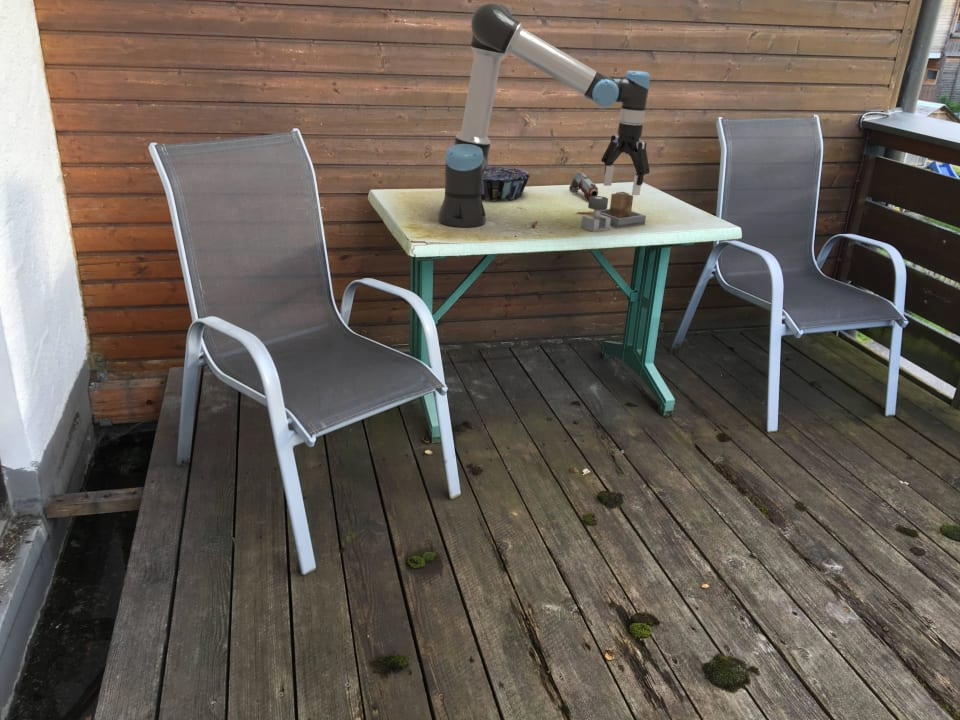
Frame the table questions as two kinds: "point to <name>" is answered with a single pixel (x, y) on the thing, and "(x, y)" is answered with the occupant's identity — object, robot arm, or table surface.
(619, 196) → the walnut block
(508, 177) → the decorative bowl
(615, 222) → the chassis bay
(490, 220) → the table surface
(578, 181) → the toy gun
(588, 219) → the axle mount
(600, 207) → the wheel
